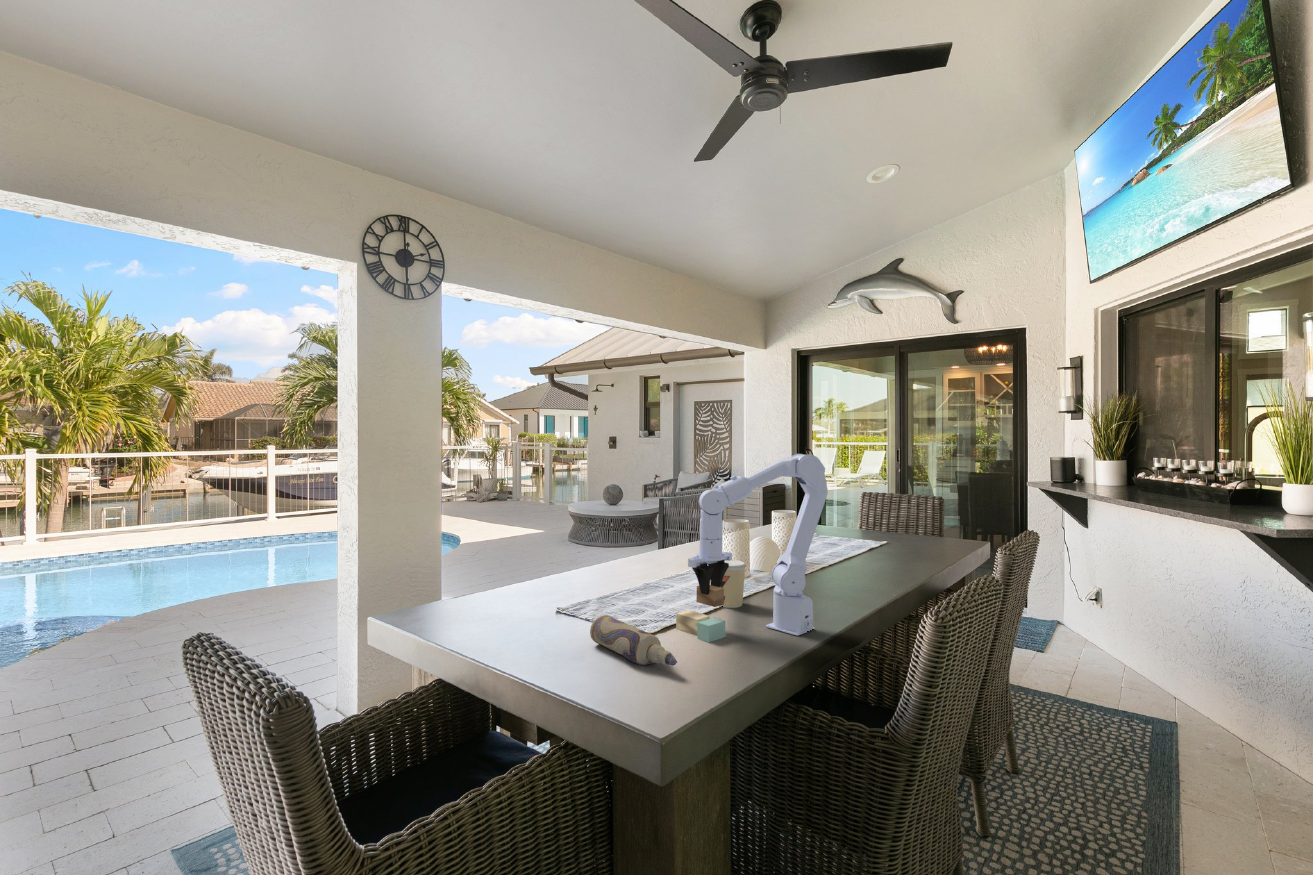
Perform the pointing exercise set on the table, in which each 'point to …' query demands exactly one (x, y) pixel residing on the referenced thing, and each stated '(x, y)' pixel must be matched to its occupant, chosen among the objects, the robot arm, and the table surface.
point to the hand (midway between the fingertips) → (710, 592)
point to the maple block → (689, 621)
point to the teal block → (711, 629)
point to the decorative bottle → (630, 642)
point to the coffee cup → (733, 584)
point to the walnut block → (711, 596)
